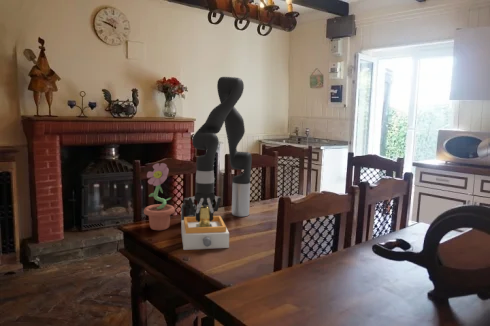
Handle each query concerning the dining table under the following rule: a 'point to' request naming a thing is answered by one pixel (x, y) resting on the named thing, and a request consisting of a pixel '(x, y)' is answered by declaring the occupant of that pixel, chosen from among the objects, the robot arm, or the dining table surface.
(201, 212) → the oil can
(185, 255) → the dining table surface
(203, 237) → the white box with knob
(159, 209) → the decorative flower
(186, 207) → the supplement bottle
